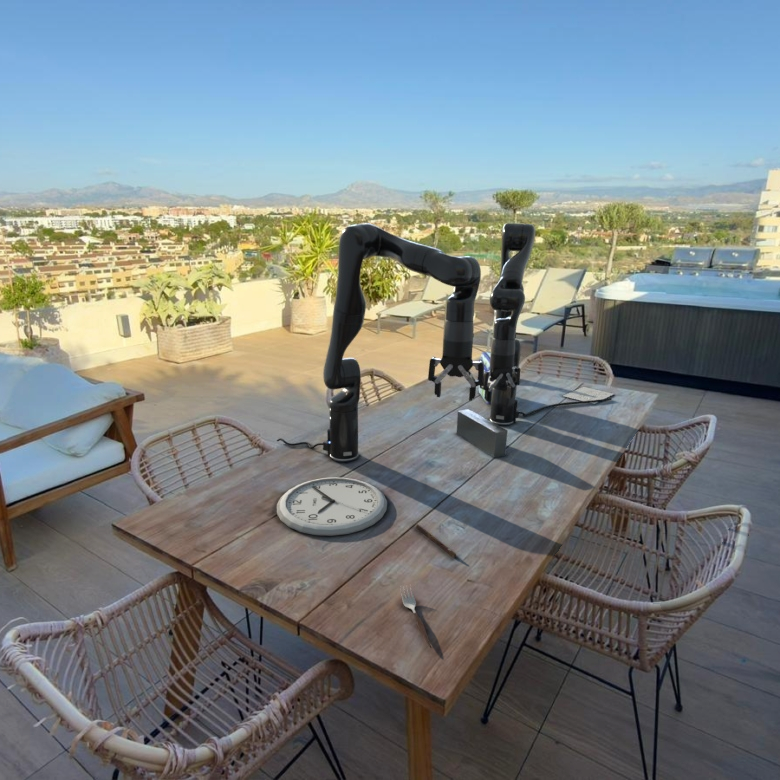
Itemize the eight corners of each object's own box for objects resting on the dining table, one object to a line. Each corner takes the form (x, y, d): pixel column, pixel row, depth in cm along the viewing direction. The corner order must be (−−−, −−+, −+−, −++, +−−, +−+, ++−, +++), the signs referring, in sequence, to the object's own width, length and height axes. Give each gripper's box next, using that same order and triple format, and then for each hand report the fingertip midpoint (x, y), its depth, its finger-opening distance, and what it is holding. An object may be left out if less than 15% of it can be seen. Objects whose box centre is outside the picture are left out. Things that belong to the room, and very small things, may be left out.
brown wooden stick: (415, 527, 132) (415, 524, 132) (417, 527, 133) (417, 523, 132) (454, 558, 121) (454, 554, 120) (455, 557, 121) (456, 553, 121)
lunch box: (475, 390, 246) (478, 346, 240) (498, 390, 246) (501, 347, 240) (484, 408, 221) (487, 360, 215) (509, 409, 221) (513, 360, 215)
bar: (505, 455, 176) (507, 430, 173) (494, 457, 174) (496, 432, 171) (466, 432, 196) (468, 409, 193) (456, 434, 194) (457, 410, 191)
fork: (423, 651, 94) (424, 642, 93) (398, 593, 109) (398, 585, 108) (437, 648, 95) (437, 639, 94) (410, 591, 109) (411, 583, 109)
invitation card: (583, 386, 254) (614, 393, 243) (583, 387, 254) (614, 394, 244) (562, 395, 239) (594, 403, 229) (562, 396, 239) (594, 404, 229)
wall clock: (392, 527, 129) (268, 531, 127) (391, 533, 130) (269, 537, 127) (383, 473, 158) (282, 475, 155) (383, 478, 158) (282, 480, 156)
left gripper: (427, 338, 131) (425, 399, 136) (484, 342, 127) (480, 405, 132) (433, 332, 138) (430, 391, 143) (487, 336, 134) (483, 396, 139)
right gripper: (513, 347, 173) (508, 393, 178) (477, 351, 167) (474, 398, 172) (528, 352, 166) (523, 400, 171) (491, 356, 160) (487, 406, 166)
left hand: (454, 398), depth 138 cm, fingers open, 8 cm apart
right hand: (498, 399), depth 172 cm, fingers open, 8 cm apart
